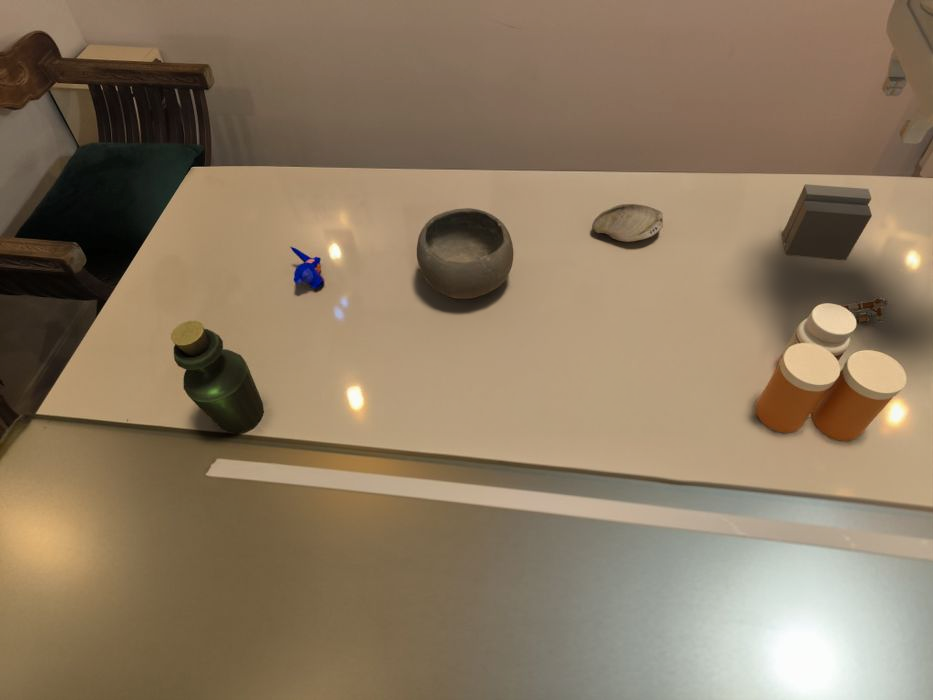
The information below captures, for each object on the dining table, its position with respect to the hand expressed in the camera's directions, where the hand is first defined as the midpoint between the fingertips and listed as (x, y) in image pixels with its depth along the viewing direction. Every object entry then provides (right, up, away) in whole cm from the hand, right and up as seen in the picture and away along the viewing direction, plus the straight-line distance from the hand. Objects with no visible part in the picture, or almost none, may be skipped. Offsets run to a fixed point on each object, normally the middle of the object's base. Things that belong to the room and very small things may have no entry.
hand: (898, 115), depth 67 cm
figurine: (-74, -14, +34) cm, 83 cm away
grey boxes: (+9, -9, +32) cm, 34 cm away
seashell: (-20, -6, +36) cm, 42 cm away
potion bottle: (-79, -35, +18) cm, 89 cm away
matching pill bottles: (-3, -35, +13) cm, 37 cm away
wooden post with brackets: (+9, -21, +23) cm, 32 cm away
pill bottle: (-1, -29, +17) cm, 34 cm away
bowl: (-48, -15, +32) cm, 59 cm away
